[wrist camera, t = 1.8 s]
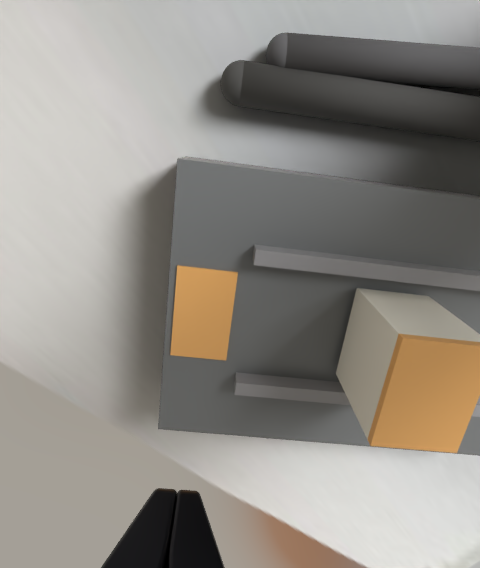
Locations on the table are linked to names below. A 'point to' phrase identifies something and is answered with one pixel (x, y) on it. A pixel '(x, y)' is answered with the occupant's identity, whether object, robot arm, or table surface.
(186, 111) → the table surface
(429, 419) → the toggle
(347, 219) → the grey tray
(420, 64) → the grey thin rod
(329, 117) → the grey rounded rod
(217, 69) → the table surface
